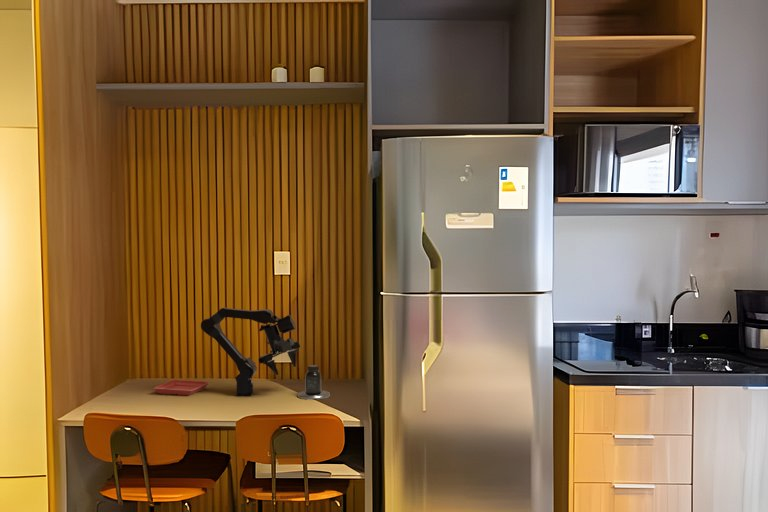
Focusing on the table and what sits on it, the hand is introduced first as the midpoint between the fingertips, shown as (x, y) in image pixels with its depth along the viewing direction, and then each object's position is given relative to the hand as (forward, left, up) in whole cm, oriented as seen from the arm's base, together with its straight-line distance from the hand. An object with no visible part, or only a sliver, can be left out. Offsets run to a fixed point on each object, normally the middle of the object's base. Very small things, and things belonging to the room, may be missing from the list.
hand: (286, 370), depth 284 cm
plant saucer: (-46, +13, -11) cm, 49 cm away
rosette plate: (+12, -3, -11) cm, 16 cm away
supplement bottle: (+12, -3, -10) cm, 15 cm away
